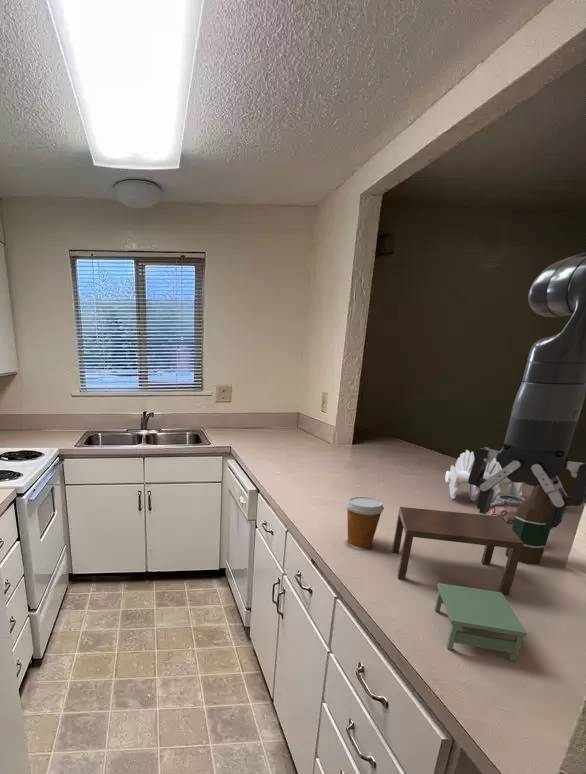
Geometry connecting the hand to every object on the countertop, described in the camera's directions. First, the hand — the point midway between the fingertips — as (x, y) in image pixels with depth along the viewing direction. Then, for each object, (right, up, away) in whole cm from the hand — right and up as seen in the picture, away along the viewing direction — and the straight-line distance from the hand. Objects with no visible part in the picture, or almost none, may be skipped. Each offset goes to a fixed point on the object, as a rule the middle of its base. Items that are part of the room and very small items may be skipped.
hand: (514, 520), depth 67 cm
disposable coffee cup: (-2, -8, +53) cm, 54 cm away
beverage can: (+38, -7, +55) cm, 67 cm away
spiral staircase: (+53, +4, +83) cm, 99 cm away
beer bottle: (+36, -11, +44) cm, 57 cm away
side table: (+12, -13, +38) cm, 42 cm away
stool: (+3, -22, +15) cm, 27 cm away
